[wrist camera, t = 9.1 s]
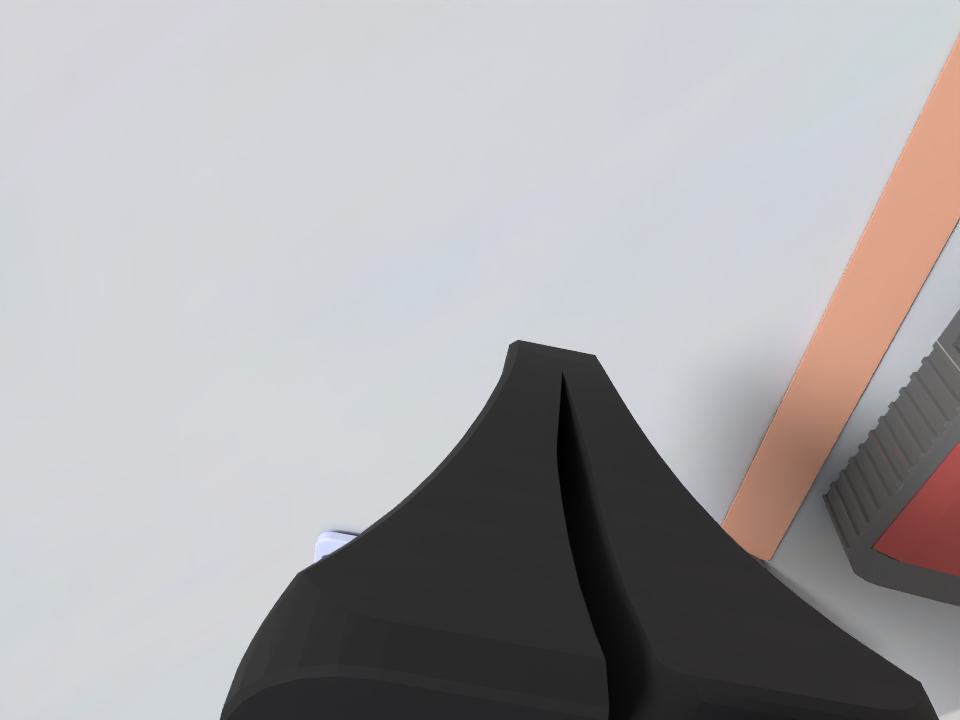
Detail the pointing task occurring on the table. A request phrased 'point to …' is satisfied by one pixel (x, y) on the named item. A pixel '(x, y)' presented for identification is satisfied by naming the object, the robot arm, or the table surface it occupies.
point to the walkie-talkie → (909, 485)
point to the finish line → (857, 321)
